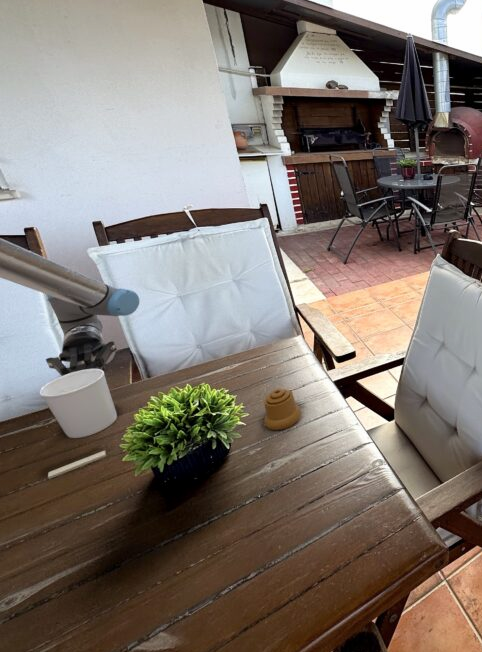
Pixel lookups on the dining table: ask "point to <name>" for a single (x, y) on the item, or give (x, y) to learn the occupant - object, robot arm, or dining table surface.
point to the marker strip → (76, 464)
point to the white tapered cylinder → (80, 402)
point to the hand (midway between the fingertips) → (81, 380)
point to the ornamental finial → (281, 410)
